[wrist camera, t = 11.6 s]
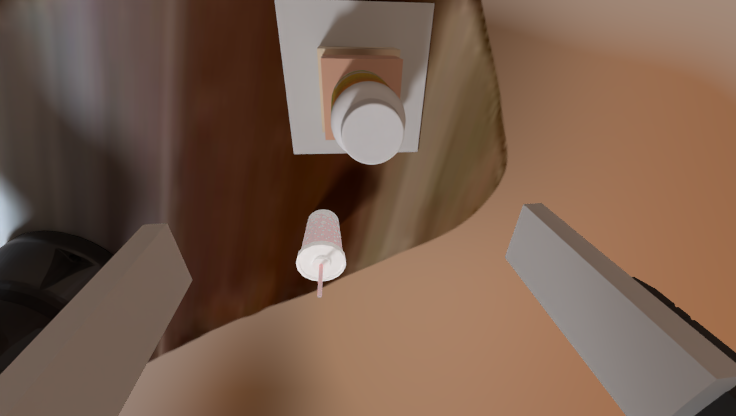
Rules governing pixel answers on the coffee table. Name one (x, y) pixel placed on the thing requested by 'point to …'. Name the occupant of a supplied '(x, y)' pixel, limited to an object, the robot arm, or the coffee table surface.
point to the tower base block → (348, 51)
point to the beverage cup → (321, 249)
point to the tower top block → (344, 64)
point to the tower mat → (349, 29)
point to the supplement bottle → (367, 117)
